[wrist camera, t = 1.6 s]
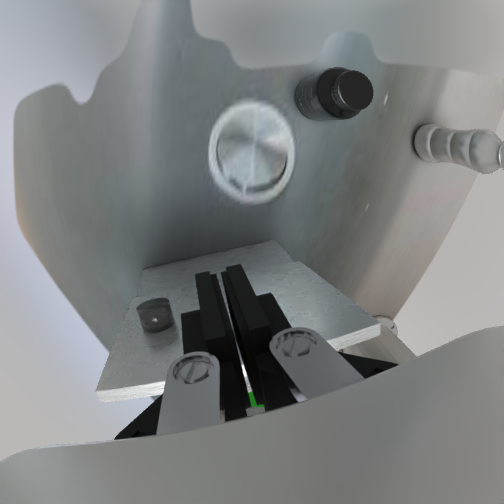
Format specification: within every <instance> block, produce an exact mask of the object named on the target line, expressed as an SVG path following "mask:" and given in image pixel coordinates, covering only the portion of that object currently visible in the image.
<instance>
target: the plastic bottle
mask: <svg viewBox="0 0 504 504" xmlns="http://www.w3.org/2000/svg"><path fill="white" fill-rule="evenodd" d="M414 144H415V149H416V151H417V153H418V155H419V156H420V157H421V158H422V159H424V160H426V161H428V162H431V163H439V162H448V163H455V164H459V165H462V166H466V167H468V168H470V169H473V170H475V171H477V172H479V173H482V174H489V173H493V172H494V171H496V170H498V169H499V168H501V169H503V170H504V141H503V142H502V141H501V140H500V139H499V138H498V136H497V135H496V134H495V133H494V132H492V131H490V130H488V129H474V130H454V129H449V128H444V127H442V126H439V125H435V124H428V125H424V126H422V127H421V128H420V129H419V130H418V131H417V133H416V135H415V140H414Z"/></svg>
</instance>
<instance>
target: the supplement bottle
mask: <svg viewBox="0 0 504 504" xmlns="http://www.w3.org/2000/svg"><path fill="white" fill-rule="evenodd" d="M295 99H296V104H297V106H298V108H299V110H300V111H301V112H302V113H303V114H304V115H305V116H306V117H308V118H310V119H313V120H319V121H323V120H343V119H349V118H352V117H354V116H356V115H357V114H358V113H359V112H360V111H361V110H362V109H365V108H366V107H368V105H370V103H371V102H372V99H373V87H372V84H371V82H370V80H369V79H368V78H367V77H366V76H365V75H364V74H362V73H361V72H358V71H354V70H353V71H351V70H348V69H346V68H342V67H333V68H329V69H327V70H324V71H322V72H319V73H317V74H314V75H312V76H309V77H307V78H305V79H304V80H302V81H301V82H300V84H299V85H298V87H297V89H296V93H295Z"/></svg>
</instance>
